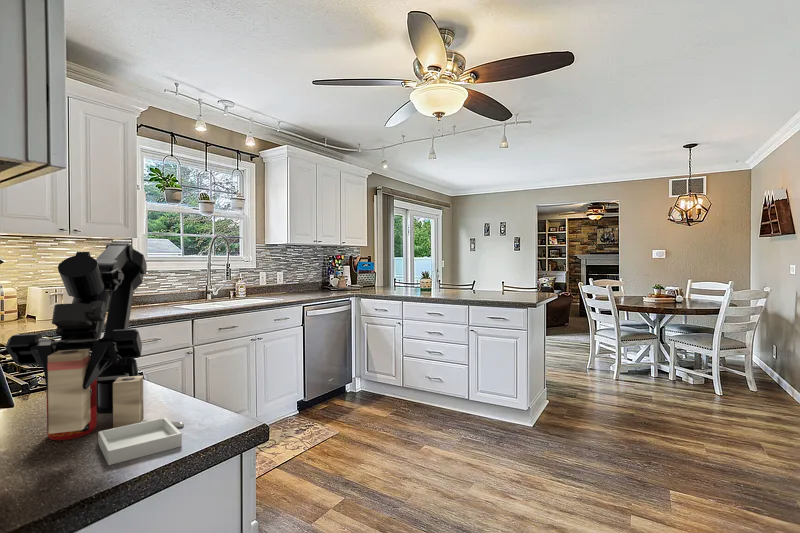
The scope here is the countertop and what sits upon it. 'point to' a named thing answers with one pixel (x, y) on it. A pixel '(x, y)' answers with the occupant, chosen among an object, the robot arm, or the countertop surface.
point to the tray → (138, 440)
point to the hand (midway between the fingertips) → (66, 389)
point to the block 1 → (68, 391)
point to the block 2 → (127, 401)
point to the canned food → (89, 427)
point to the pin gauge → (175, 424)
